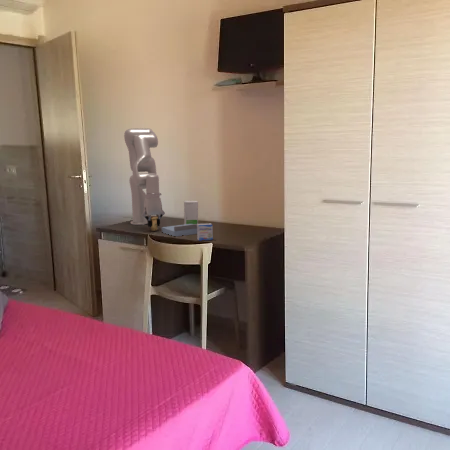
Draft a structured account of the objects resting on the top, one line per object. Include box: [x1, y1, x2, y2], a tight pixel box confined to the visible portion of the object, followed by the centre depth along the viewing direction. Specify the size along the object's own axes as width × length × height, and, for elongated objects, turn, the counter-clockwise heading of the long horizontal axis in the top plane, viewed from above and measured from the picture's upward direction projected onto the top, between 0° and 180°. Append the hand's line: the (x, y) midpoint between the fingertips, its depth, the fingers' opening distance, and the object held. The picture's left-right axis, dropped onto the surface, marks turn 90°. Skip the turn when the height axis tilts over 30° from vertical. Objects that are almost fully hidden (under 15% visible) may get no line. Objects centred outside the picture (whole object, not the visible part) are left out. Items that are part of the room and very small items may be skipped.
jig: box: [161, 222, 204, 237], centre depth 301 cm, size 16×20×5 cm
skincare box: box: [183, 200, 199, 225], centre depth 321 cm, size 8×7×16 cm
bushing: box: [150, 215, 158, 232], centre depth 307 cm, size 5×5×8 cm
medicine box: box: [196, 222, 214, 242], centre depth 280 cm, size 8×4×9 cm, turn 104°
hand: (153, 226), depth 307 cm, fingers closed on bushing, 4 cm apart
